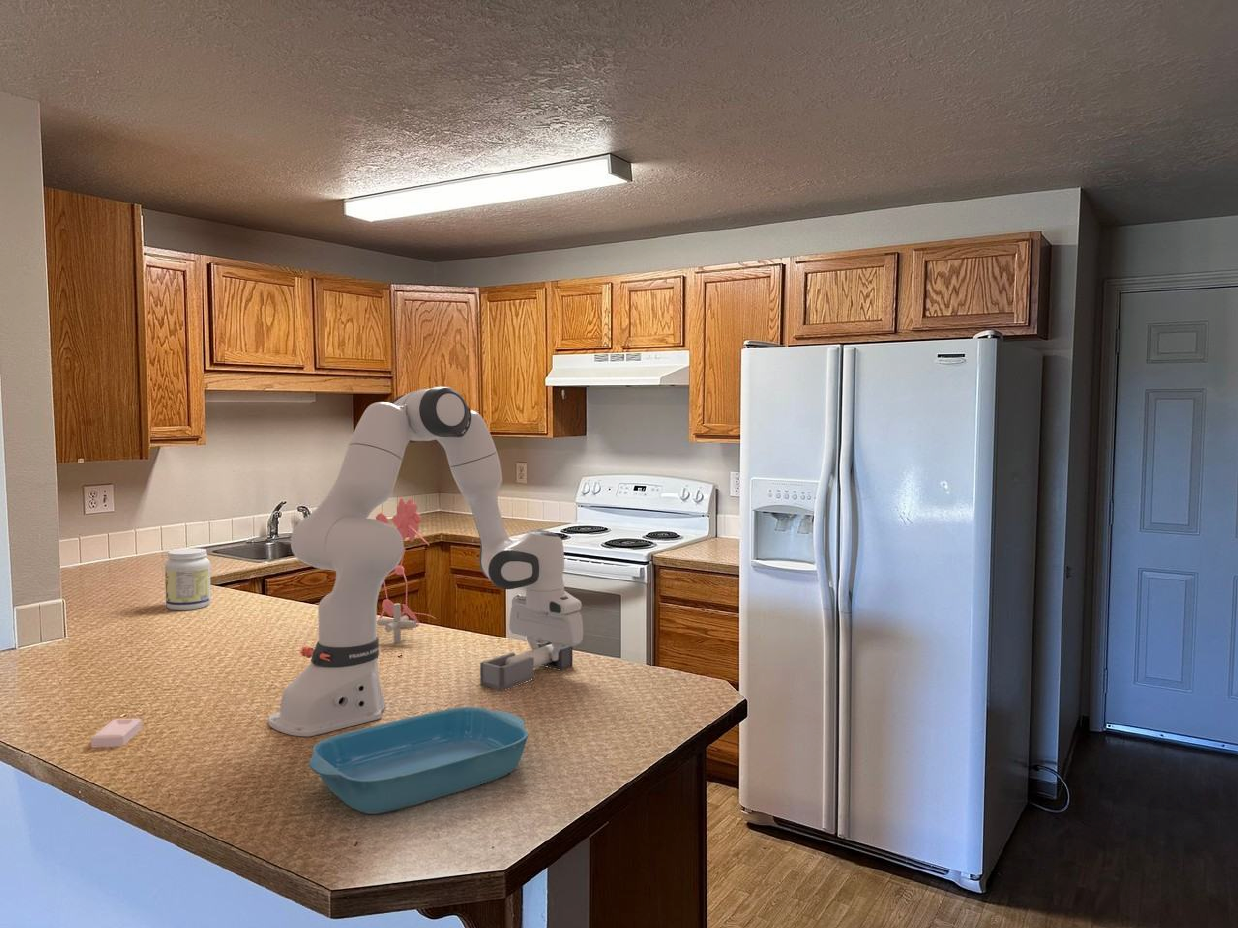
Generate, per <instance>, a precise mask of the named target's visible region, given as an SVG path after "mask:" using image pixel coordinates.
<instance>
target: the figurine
mask: <svg viewBox="0 0 1238 928" xmlns="http://www.w3.org/2000/svg"><path fill="white" fill-rule="evenodd" d="M417 509H418V505H417V504H416V503H414V500H413V498H409V499H408V500H407V501H406V502H405V500H404V497H400V498H399V501H398V505H397V506H396V515H393V516H392V517H391V518H392V519H391V520H392V523H393V524H394V526H395V527H396V529H397V530H398V531H399V532H400V534H401V536H402V539H403V543H404V542H405V540H406V539H407V538H408V540H409V541H410V542H412V543H413V542H414V541H415V538H416V536H417V537H418V538H419V539H421V540H422V541H423V542H424V543H425V544H427V546H428V547H429V546H430V544H429V542H428V541H426V539H424V538H423V536H421V534H420V533H419V526H418V524H420V523H421V522H422V517H421V515H420V514H419V513H418V512H417ZM375 520H378V521H381V522H384V523H386V524H389V519H388V518H387V516H386V515H385V514H383V512H380V513H378V514H377V515H376V516H375ZM405 554H406V547H405V546H404V550H403V555H402V558H401V560H400V563H399V564H400V565H399V564H398V565H397V567H396V568H395V569H394V572H392V573H389V574H388V575H387V577H386V578H389V577H390V576H392V575H394V574H395V575H398V576H403V578H404V580H405V588H406V589H405V604H404V603H403V604H402V608H403V609H402V611H401V617H403V616H405V615H404V614H408V616H410V617H411V619H412V620H413V621H416V622H417V624H418V625H420V621H419V619H418V617H417V616H416V615H415V614H418V615H422V613H419V612H415V611H414V612H413V611H412V610H411V609H410V608H409V607H408V585H409V584H408V580H407V576H406V574H405V567H404V566H403V561H404V556H405ZM383 588H384V592H385V597H386V599H383V601H382V605H381V606H382V608H383V609H382V611H381V614H380V616H379V618H380V619H381V618H382V619H383V616H384V614H385V613H386V614H387V616H389V617H392V618H393V604H394V603H393V602H392V601H391V600H390V599H389V597H388V594H387V593H388V592H387V589H386V582H385V580H384V582H383ZM423 615H425V616H429V617H432V618H434V619H435V620H436V619H437V618H436V617H434V616H433V615H431V614H429V613H428V614H426V613H423ZM412 630H414V629H413V628H410V629H408V631H412Z"/></svg>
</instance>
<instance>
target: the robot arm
mask: <svg viewBox="0 0 1238 928" xmlns="http://www.w3.org/2000/svg"><path fill="white" fill-rule="evenodd" d="M435 440H436V441H438V443H439V444H440V445H441V447H443V449H444V452H445V455H446V459H447V462H448V465H449V469H450V470H449V471H450V472H451V475H452V477H453V479H454V482H455V483H456V486H457V488H458V490H459V492H460V493H461V495H462V497H463V498H464V500H465V501H466V503H467V505H468V506H469V509H470V510H471V514H472V516H473V520H474V523H475V524H474V525H475V527H476V530H477V535H478V537H479V543H480V544H479V545H480V547H479V557H478V564H479V568H480V571H481V572H482V574H483V575H484V576H485V577H486V578H487V579H489V580H490V581H491V582H492V584H493V585H494V586H496V587H497V588H500V589H502V590H513V589H518V588H522V587H525V595H522V594H516V596H514V597H512V599H511V607H510V613H509V614H510V615H509V623H508V625H509V626H508V627H509V628H508V629H509V630H510V633H511V634H514V635H517V636H518V635H519V636H523V637H527V642H528V644H529V647H530V649H531V650H534V649H537V648H539V647H538V641H539V640H540V641H543V642H544V641H549V642H552V646H553V647H554V649H553V651H552V652H550V653H549V660H552V661H557V660H558V659H559V651H560V650H561V648H562V646H563V645H567V646H573V647H574V646H577V645H580V644H582V642H583V638H584V622H583V616H582V614H581V612H580V610H581V609H582V605H583V604H582V601H581V600H580V599H578V598H577V597H575V596H573V595H572V594H570V593H568V592H567V591H566V590H565V584H564V580H563V579H564V578H563V575H564V571H565V556H564V555H565V553H564V544H563V540H562V538H561V536H559V535H558V534H556V532H553V531H549V530H543V529H532V530H529V531H528V532H527V533H526V534H525V535H523V536H522V537H521V538H519V539H517V540H515V541H512V540H511V539H510V537H509V536H508V533H507V531H506V529H505V525H504V522H503V521H504V520H503V518H502V515H501V510H500V508H499V501H498V495H499V490H500V488H501V486H502V484H503V483H502V482H503V475H502V474H503V472H502V466H501V461H500V457H499V454H498V450H497V448H496V445H495V442H494V440H493V436H492V435H491V432H490V429H489V428H488V425H487V424H486V422H485V420H484V419H483V416H482V415H481V414H479V412H478V411H475V410H471V408H470V407H469V406H468V403H467V402H466V400H465V398H464V397H463V396H462V394H460V392H459V391H457V390H455V389H454V388H451V387H447V386H434V387H431V388H424V389H417V390H413V391H411V392H409V393H406V394H402V395H399V396H398V397H397V398H395V399H394V400H393V401H392V402H385V401H379V402H378V401H377V402H374V403H371V404H370V405H368V406H367V408H365V410H364V412H363V413H362V415H361V417H360V419H359V421H358V422H357V423H356V426H355V429H354V431H353V433H352V436H351V438H350V441H349V444H348V447H347V450H346V452H345V455H344V458H343V462H342V465H341V467H340V469H339V473H338V476H337V478H336V479H335V482H334V484H333V486H332V487H331V489H330V491H328V493H327V495H326V496H325V498H324V499H323V500H322V502H321V503H319V505H318V506H317V507H316V509H314V511H313V512H311V513H310V514H308V516H306V517H304V518H303V519H301V520H300V521H299V522H298V523H297V524H296V525H295V526H294V528H293V530H292V532H291V535H290V546H291V551H292V554H293V555H294V557H295V558H296V559H297V560H299V561H300V562H302V563H304V564H306V565H309V566H311V567H313V568H315V569H320V570H328V571H335V574H336V575H335V581H334V585H333V588H332V590H331V591H330V592H329V593H328V594H326V595H324V597H323V598H322V599H321V600H320V601H319V604H318V641H317V642H316V644H315V647H314V648H313V647H309V646H307V645H305V646H302V647H301V649H300V652H299V654H300V655H301V656H302V657H305V658H307V659H310V663H309V664H308V665H307V666H306V668H304V669H303V670H302V672H300V673H299V675H297V676H296V677H295V679H293V681H291V682H290V683H289V684H288V685H287V686H286V687H285V688H284V690H283V693H282V696H281V701H280V702H281V703H280V710H279V711H277V712H275V713H272V714H271V715H269V716H268V718H267V719H268V720H267V724H268V725H269V726H270V727H271V729H274V730H276V731H278V732H280V733H283V734H286V735H291V736H296V737H314V736H319V735H322V734H325V733H330V732H333V731H337V730H342V729H345V728H348V727H349V728H350V727H353V726H356V725H361V724H365V723H369V722H371V721H373V722H374V721H376V720H379V719H381V718H382V717H383V716H382V712H383V711H384V710H385V709H386V707H387V705H386V702H385V699H384V695H383V690H382V686H381V681H380V675H379V666H378V665H379V664H378V663H379V662H378V659H379V656H380V644H379V637H378V636H377V617H378V615H377V613H378V612H377V611H378V600H379V595H380V592H381V589H382V586H383V585H384V583H383V582H384V581H385V580H386V578H388V577H387V575H389V574H391V572H393V571H395V568H396V567H397V566H399V564H400V563H401V559H402V555H403V550H404V547H405V546H404V542H403V539H402V536H401V534H400V532H399V531H398V530H397V527H396V526H394V525H391V524H390V523H388V524H386V523H384V522H381V521H378V520H376V518H375V519H373V518H369V516H370V515H371V513H372V512H373V511H374V510H375V509H376V508H377V507H379V506H380V505H382V504H384V503H385V502H387V501H388V500H389V498H391V496H392V495H393V493H394V488H395V485H396V482H397V480H398V476H399V473H400V472H399V471H400V470H401V465H402V463H403V459H404V456H405V452H406V448H407V446H408V444H409V443H415V442H423V441H426V442H427V441H428V442H430V441H435Z"/></svg>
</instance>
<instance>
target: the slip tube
mask: <svg viewBox="0 0 1238 928" xmlns="http://www.w3.org/2000/svg"><path fill="white" fill-rule="evenodd" d="M553 649H554V647H553V646H552V644H549V645H546V646H543V647H540V648H537V649H534V650H532V649H531V650H528V651H525V652H523V653H518V654H515V656H512V657H509V658H507V659H506V661H505V665H508V664H511V663H514V662H517V661H520V660H523V659H526V658H529V657H532V658H534V669H535V668H538V667H541V666H542V665H544V664H547V663H550V662H553V661H552V660H549V653H550V652H552V651H553Z"/></svg>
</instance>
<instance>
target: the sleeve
mask: <svg viewBox="0 0 1238 928" xmlns="http://www.w3.org/2000/svg"><path fill="white" fill-rule="evenodd" d="M515 655H516V653H514V652H510V653H507V654H504V655H501V656H497V657H494V658H491V659H488V660H485V661H482V662H480V663H479V667H480V669H479V675H480V677H479V683H480V684H479V685H480V686H481V685H482V687H485V686H486V688H489V687H490V688H489V689H492V688H493V689H492V690H496V691H499V690H500V691H499V692H504V691H506V690H505V689H507V690H509V689H508V688H510V689H512V688H514V687H513V686H515V687H517V686H516V685H518V686H520V685H522V684H521V683H523V684H525V683H524V682H526V681H529V680H531V679H533V678H534V674H535V673H534V669H535V668H534V658H532V657H529V658H526V659H523V660H520V661H517V662H514V663H511V664H508V665H505V661H506V659H507V658H509V657H512V656H515ZM533 680H534V679H533ZM531 681H532V680H531ZM529 682H530V681H529ZM526 683H527V682H526ZM519 684H520V685H519ZM511 687H512V688H511ZM503 690H504V691H503Z"/></svg>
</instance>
